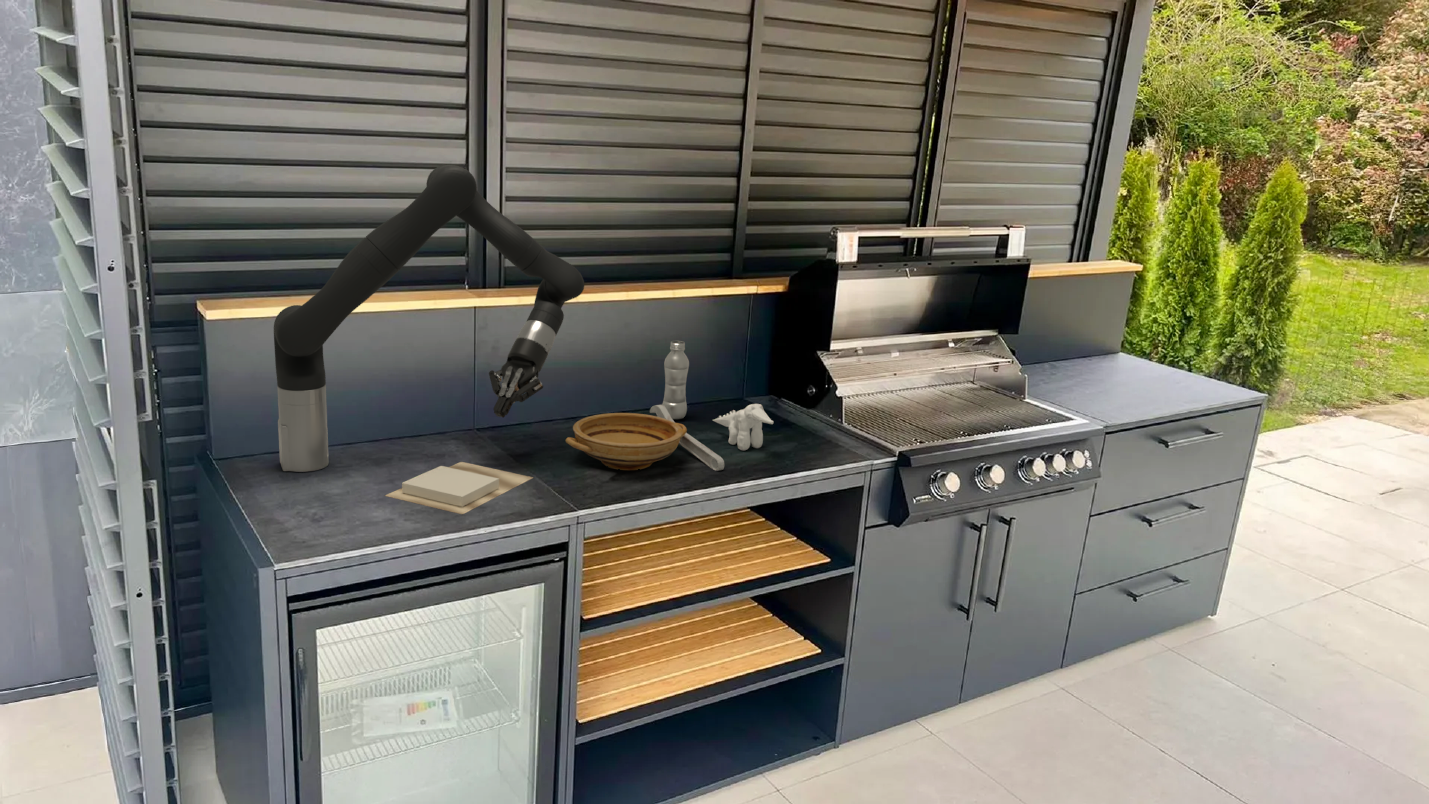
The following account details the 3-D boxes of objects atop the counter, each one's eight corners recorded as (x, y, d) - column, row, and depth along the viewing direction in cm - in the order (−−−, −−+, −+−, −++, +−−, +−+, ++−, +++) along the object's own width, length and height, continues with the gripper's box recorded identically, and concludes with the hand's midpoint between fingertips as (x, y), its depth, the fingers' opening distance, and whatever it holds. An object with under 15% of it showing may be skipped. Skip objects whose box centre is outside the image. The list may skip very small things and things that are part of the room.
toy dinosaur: (760, 458, 239) (761, 410, 237) (700, 439, 258) (700, 394, 256) (783, 454, 243) (784, 407, 241) (723, 435, 262) (723, 392, 260)
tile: (441, 475, 213) (402, 493, 202) (441, 465, 212) (401, 482, 202) (499, 488, 208) (462, 507, 197) (499, 478, 207) (462, 496, 197)
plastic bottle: (687, 416, 271) (692, 340, 266) (684, 423, 265) (688, 346, 260) (663, 413, 272) (667, 338, 267) (659, 421, 265) (663, 343, 260)
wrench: (715, 484, 232) (647, 432, 254) (722, 483, 233) (653, 431, 255) (720, 451, 229) (650, 401, 251) (727, 450, 230) (657, 400, 252)
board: (462, 521, 194) (462, 514, 194) (384, 502, 201) (384, 495, 201) (533, 484, 216) (533, 477, 215) (461, 468, 222) (461, 461, 222)
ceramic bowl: (654, 438, 251) (656, 406, 249) (712, 469, 232) (714, 434, 230) (542, 455, 234) (542, 420, 232) (594, 489, 215) (595, 452, 213)
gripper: (499, 332, 223) (464, 400, 215) (552, 340, 218) (518, 410, 210) (513, 352, 229) (479, 419, 221) (565, 360, 224) (532, 429, 216)
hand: (498, 415), depth 216 cm, fingers closed
